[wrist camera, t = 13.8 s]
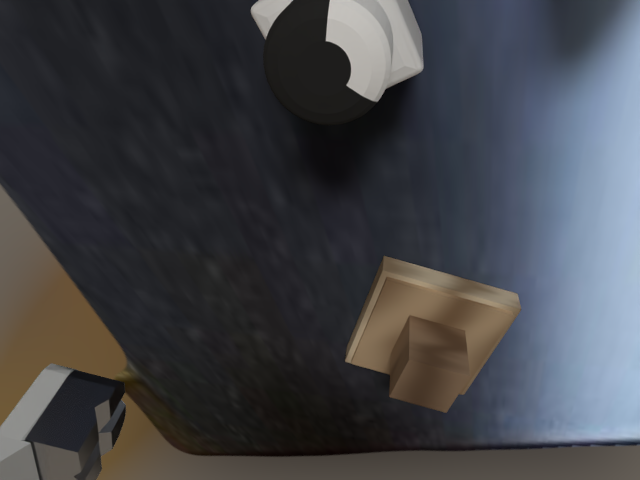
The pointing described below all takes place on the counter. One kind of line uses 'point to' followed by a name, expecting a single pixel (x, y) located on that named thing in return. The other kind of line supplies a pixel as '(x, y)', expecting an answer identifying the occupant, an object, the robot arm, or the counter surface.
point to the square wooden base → (429, 313)
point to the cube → (429, 364)
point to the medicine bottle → (337, 54)
